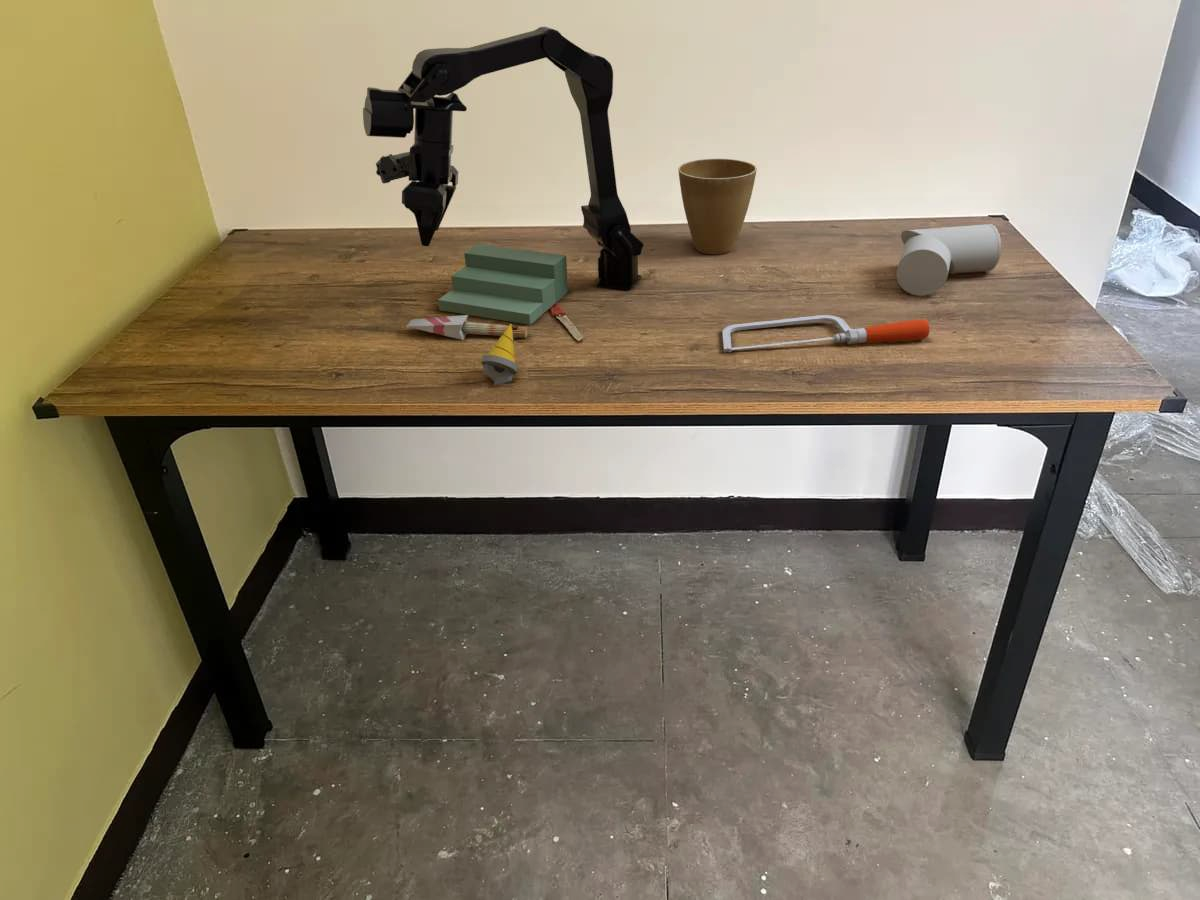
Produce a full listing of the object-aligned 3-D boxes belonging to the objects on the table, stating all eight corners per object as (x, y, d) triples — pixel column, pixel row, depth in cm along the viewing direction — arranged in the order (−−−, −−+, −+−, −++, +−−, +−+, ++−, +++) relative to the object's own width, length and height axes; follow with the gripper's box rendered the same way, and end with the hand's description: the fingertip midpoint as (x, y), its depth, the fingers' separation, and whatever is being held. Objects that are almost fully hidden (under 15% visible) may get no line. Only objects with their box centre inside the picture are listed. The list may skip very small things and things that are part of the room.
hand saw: (725, 345, 137) (712, 319, 145) (725, 363, 138) (712, 336, 147) (932, 323, 138) (907, 299, 147) (929, 341, 140) (905, 316, 148)
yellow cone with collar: (473, 383, 134) (490, 322, 136) (506, 394, 135) (523, 333, 137) (480, 376, 129) (498, 313, 131) (514, 387, 130) (532, 324, 132)
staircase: (568, 292, 161) (566, 255, 157) (530, 325, 150) (527, 286, 146) (481, 279, 167) (478, 243, 164) (439, 310, 156) (434, 272, 152)
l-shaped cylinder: (895, 246, 172) (881, 284, 157) (916, 194, 166) (904, 228, 151) (985, 276, 169) (981, 317, 153) (1011, 224, 163) (1009, 262, 147)
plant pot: (765, 245, 179) (771, 164, 170) (723, 267, 169) (728, 183, 161) (704, 230, 187) (707, 153, 178) (661, 250, 178) (662, 170, 169)
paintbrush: (412, 309, 148) (528, 320, 146) (413, 325, 150) (529, 335, 147) (404, 319, 145) (523, 330, 143) (405, 334, 147) (523, 345, 144)
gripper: (392, 122, 145) (391, 217, 153) (367, 143, 129) (367, 248, 137) (460, 131, 146) (456, 225, 154) (444, 153, 130) (440, 256, 137)
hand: (429, 237), depth 145 cm, fingers open, 9 cm apart
